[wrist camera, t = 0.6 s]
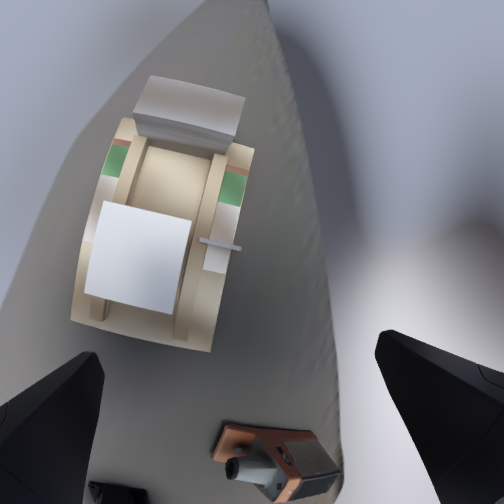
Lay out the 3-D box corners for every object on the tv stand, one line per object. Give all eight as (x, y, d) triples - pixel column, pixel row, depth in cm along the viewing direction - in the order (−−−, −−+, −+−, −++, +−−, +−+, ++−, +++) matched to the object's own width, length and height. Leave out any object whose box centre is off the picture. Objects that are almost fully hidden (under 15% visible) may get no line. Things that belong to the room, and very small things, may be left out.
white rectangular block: (223, 302, 20) (255, 329, 12) (119, 279, 18) (84, 292, 10) (235, 248, 20) (273, 241, 12) (131, 223, 18) (103, 200, 10)
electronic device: (222, 418, 21) (245, 473, 13) (312, 428, 23) (352, 468, 16) (208, 452, 20) (225, 508, 13) (295, 459, 23) (329, 501, 15)
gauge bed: (208, 348, 20) (221, 379, 15) (74, 317, 18) (43, 337, 12) (253, 143, 22) (279, 109, 16) (128, 112, 19) (119, 71, 13)
